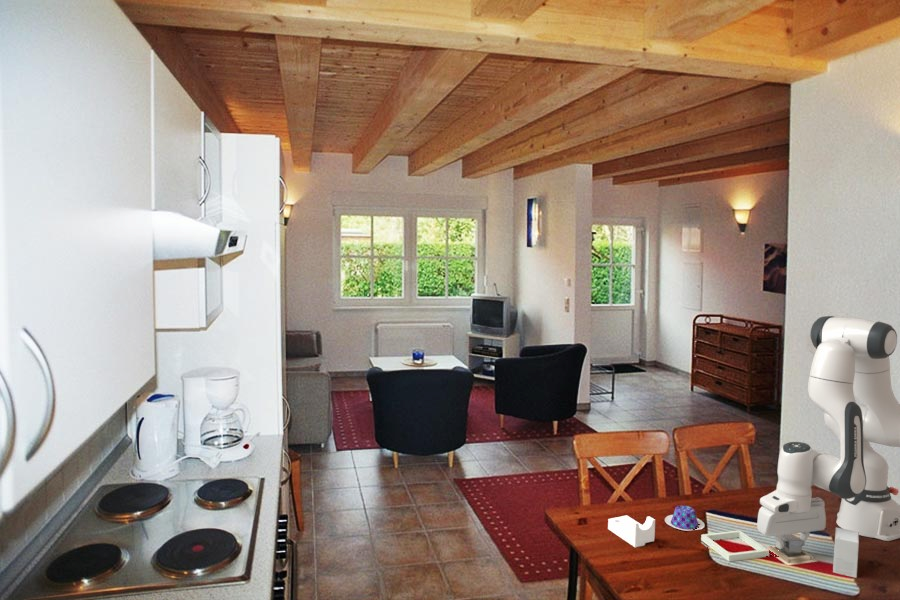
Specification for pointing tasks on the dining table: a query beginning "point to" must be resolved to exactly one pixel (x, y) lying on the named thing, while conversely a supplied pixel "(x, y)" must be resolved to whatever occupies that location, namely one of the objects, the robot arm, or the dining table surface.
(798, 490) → the robot arm
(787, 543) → the gray block
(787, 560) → the socket holder
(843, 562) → the small box
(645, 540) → the bracket
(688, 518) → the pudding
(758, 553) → the tray
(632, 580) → the dining table surface
